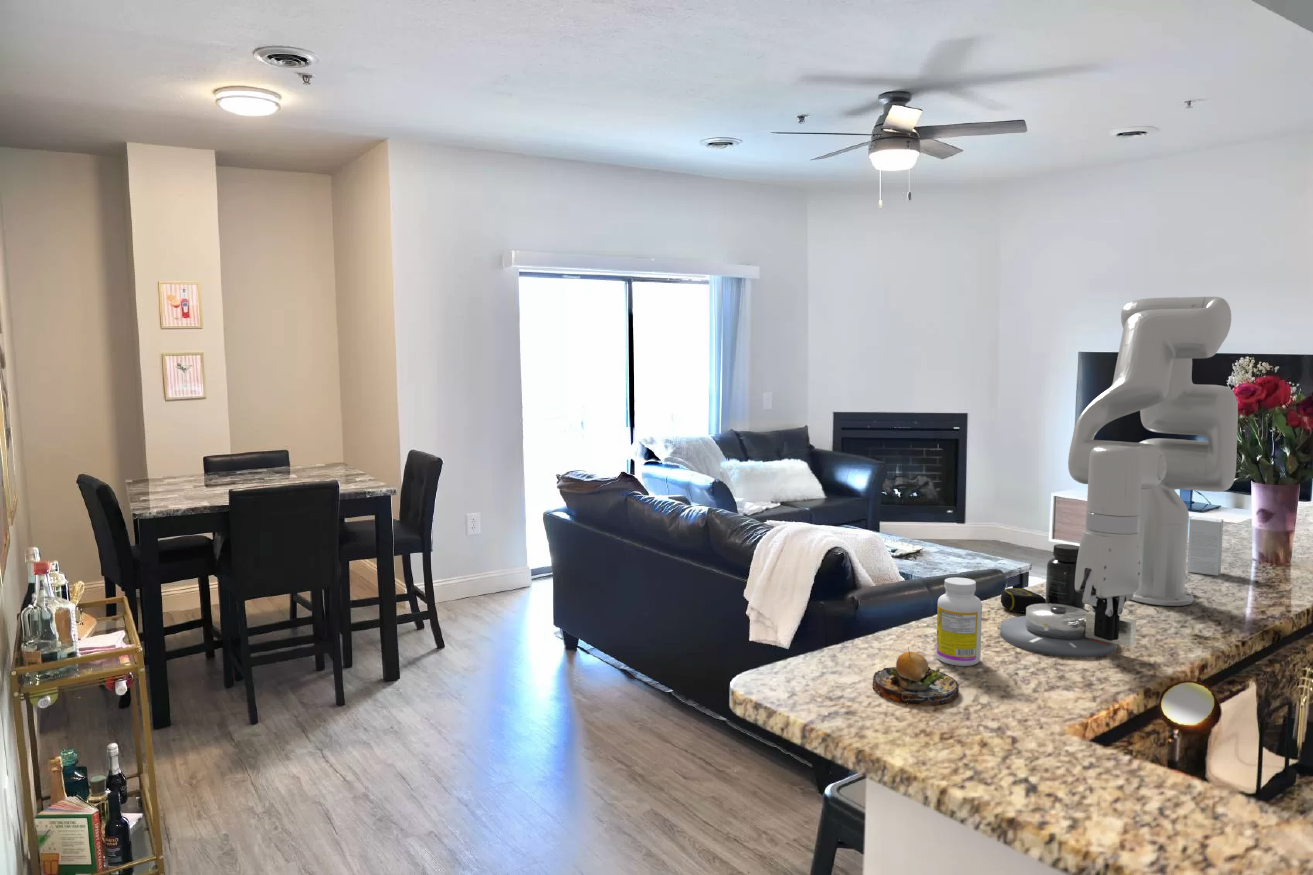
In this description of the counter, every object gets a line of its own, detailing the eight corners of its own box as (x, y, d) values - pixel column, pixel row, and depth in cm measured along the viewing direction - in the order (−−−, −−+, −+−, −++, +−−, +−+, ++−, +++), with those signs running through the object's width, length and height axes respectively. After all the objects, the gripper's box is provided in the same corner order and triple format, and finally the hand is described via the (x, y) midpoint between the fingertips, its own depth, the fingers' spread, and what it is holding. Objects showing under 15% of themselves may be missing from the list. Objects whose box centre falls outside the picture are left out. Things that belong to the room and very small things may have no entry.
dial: (1014, 628, 152) (1015, 604, 152) (1041, 616, 159) (1042, 594, 159) (1119, 653, 140) (1121, 627, 139) (1144, 639, 146) (1145, 615, 146)
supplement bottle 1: (948, 650, 147) (951, 573, 146) (987, 660, 142) (990, 580, 141) (928, 660, 142) (930, 580, 141) (967, 670, 137) (970, 588, 136)
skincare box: (1221, 572, 198) (1224, 519, 197) (1218, 576, 194) (1222, 522, 193) (1189, 568, 201) (1192, 515, 200) (1186, 572, 198) (1189, 518, 197)
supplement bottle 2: (1065, 602, 175) (1068, 541, 173) (1093, 611, 168) (1096, 549, 167) (1037, 605, 172) (1039, 544, 171) (1063, 615, 166) (1066, 551, 165)
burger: (975, 696, 128) (977, 645, 127) (918, 714, 122) (919, 661, 121) (910, 671, 138) (912, 624, 137) (854, 686, 132) (855, 637, 131)
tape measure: (1047, 614, 167) (1048, 595, 167) (1015, 617, 165) (1016, 597, 165) (1024, 604, 174) (1024, 585, 173) (992, 607, 172) (993, 587, 172)
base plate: (1033, 617, 165) (1033, 609, 165) (1135, 641, 151) (1135, 633, 151) (979, 637, 153) (979, 628, 153) (1085, 665, 140) (1085, 656, 139)
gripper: (1121, 517, 148) (1115, 626, 150) (1059, 523, 141) (1053, 637, 143) (1164, 524, 142) (1158, 638, 143) (1102, 531, 135) (1095, 651, 136)
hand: (1106, 637), depth 143 cm, fingers closed
